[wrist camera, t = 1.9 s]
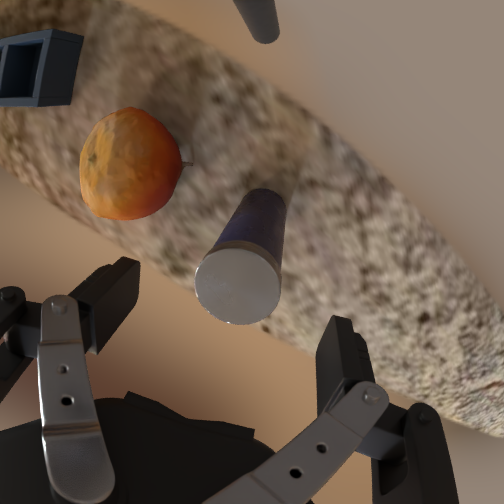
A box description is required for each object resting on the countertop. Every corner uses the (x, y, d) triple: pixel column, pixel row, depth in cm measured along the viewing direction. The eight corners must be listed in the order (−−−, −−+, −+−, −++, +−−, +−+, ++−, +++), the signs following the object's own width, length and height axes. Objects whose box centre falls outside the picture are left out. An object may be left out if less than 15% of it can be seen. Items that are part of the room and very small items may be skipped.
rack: (-21, 52, 20) (-47, 53, 16) (84, 36, 20) (53, 28, 16) (-29, 104, 23) (-56, 108, 19) (70, 105, 23) (37, 107, 19)
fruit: (174, 244, 25) (87, 247, 18) (132, 185, 28) (56, 177, 21) (231, 161, 22) (142, 135, 15) (176, 111, 25) (98, 84, 18)
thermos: (244, 181, 24) (201, 238, 13) (293, 194, 24) (291, 262, 13) (234, 227, 26) (188, 312, 15) (280, 239, 25) (267, 333, 14)
